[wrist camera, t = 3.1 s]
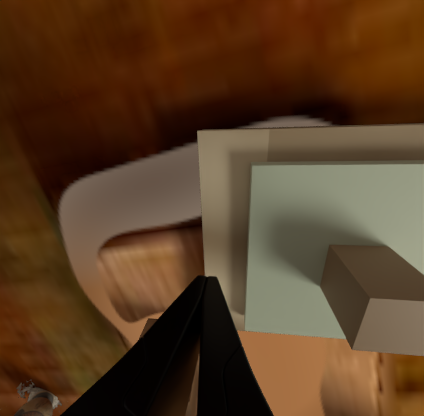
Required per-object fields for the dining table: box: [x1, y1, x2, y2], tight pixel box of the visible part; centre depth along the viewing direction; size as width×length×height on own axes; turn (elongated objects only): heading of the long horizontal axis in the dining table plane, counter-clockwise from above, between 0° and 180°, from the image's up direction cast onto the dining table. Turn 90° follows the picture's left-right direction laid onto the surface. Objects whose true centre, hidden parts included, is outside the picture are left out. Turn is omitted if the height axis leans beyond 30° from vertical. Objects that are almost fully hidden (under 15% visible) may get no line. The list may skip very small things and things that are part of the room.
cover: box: [244, 160, 424, 356], centre depth 8 cm, size 9×9×4 cm
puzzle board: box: [197, 123, 424, 339], centre depth 11 cm, size 12×22×2 cm, turn 92°
